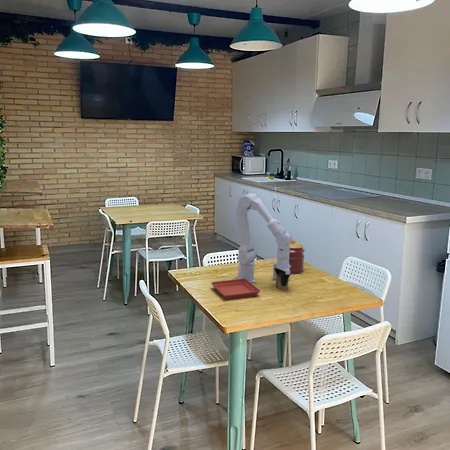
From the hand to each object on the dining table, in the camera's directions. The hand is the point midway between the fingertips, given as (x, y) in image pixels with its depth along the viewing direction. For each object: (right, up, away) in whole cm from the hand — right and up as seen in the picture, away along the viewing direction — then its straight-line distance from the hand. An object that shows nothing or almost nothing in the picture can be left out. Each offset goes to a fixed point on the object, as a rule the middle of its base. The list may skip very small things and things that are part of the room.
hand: (281, 284), depth 219 cm
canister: (+9, +4, +28) cm, 29 cm away
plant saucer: (-23, -3, -7) cm, 24 cm away
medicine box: (+1, +1, +13) cm, 13 cm away
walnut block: (0, -2, 0) cm, 2 cm away
